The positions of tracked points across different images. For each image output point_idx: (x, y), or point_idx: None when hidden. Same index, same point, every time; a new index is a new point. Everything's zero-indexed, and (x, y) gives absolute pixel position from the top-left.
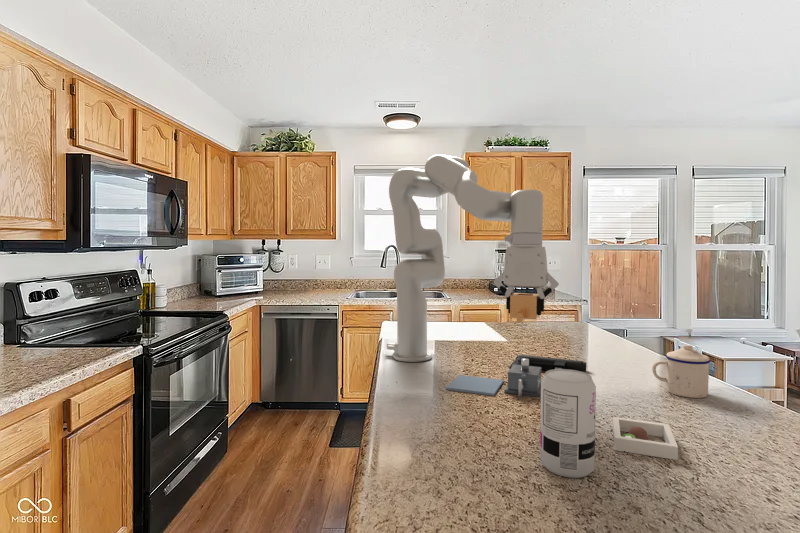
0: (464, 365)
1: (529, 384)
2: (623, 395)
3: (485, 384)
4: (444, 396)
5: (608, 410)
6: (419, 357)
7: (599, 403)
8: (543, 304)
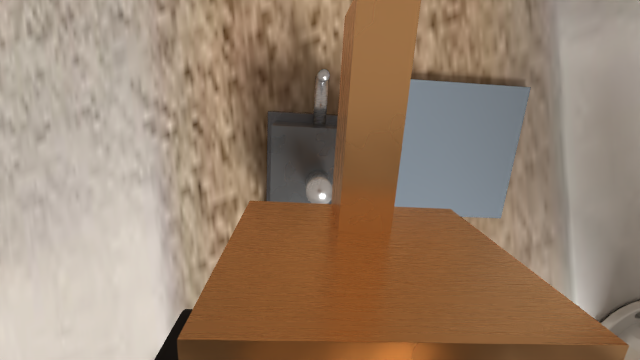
0: None
1: (298, 123)
2: (62, 208)
3: (423, 154)
4: (525, 25)
5: (85, 63)
6: (625, 325)
7: (114, 116)
8: (157, 354)
